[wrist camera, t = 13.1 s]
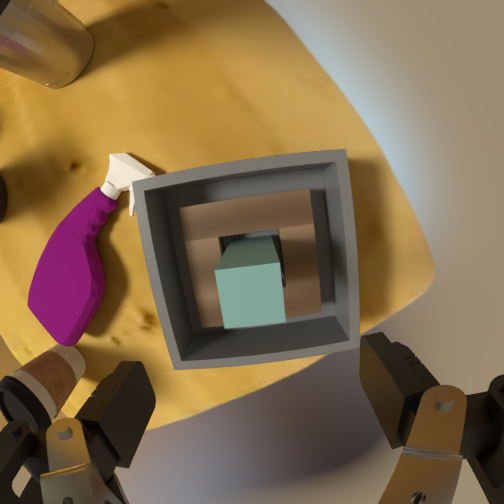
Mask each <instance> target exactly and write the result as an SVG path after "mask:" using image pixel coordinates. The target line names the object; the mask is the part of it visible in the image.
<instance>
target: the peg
mask: <svg viewBox="0 0 504 504" xmlns="http://www.w3.org/2000/svg"><path fill="white" fill-rule="evenodd" d="M215 276H216V282H217V288H218V294H219V299H220V305H221V311H222V316H223V322H224V327H225V329H227V328H238V327H248V326H257V325H266V324H274V323H282V322H286V318H285V307H284V297H283V288H282V278H281V269H280V262H279V258H278V255H277V252H276V249H275V246H274V243H273V240H272V237H271V235H265V236H257V237H249V238H241V239H233V240H231V241H230V243H229V245H228V247H227V249H226V250H225V252H224V254H223V256H222V258H221V259H220V261H219V263H218V265H217V267H216V269H215Z"/></svg>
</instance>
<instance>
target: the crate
mask: <svg viewBox="0 0 504 504" xmlns="http://www.w3.org/2000/svg"><path fill="white" fill-rule="evenodd" d="M132 187H133V194H134V200H135V207H136V213H137V219H138V225H139V230H140V236H141V241H142V246H143V251H144V256H145V261H146V266H147V270H148V275H149V279H150V284H151V288H152V292H153V296H154V300H155V304H156V308H157V312H158V316H159V319H160V323H161V327H162V330H163V334H164V337H165V341H166V344H167V348H168V351H169V354H170V358H171V361H172V364H173V367H174V370H186V369H205V368H220V367H232V366H243V365H252V364H261V363H270V362H278V361H285V360H292V359H299V358H305V357H311V356H317V355H323V354H328V353H334V352H339V351H344V350H349V349H353V348H358V347H359V345H360V303H359V273H358V255H357V240H356V228H355V217H354V207H353V198H352V190H351V182H350V175H349V167H348V161H347V154H346V149H337V150H324V151H313V152H303V153H293V154H284V155H276V156H268V157H260V158H253V159H246V160H239V161H233V162H227V163H221V164H215V165H209V166H203V167H198V168H193V169H188V170H182V171H178V172H173V173H168V174H163V175H159V176H154V177H150V178H145V179H141V180H137V181H133V182H132ZM303 189H309V190H310V197H311V205H312V213H313V222H314V230H315V240H316V249H317V259H318V270H319V282H320V295H321V309H322V313H316V314H310V315H304V316H297V317H290V318H286V322H282V323H274V324H266V325H257V326H248V327H238V328H227V329H225V327H224V326H217V327H207V328H202V325H201V321H200V316H199V312H198V307H197V303H196V298H195V293H194V288H193V283H192V279H191V274H190V268H189V263H188V258H187V253H186V247H185V242H184V236H183V230H182V225H181V219H180V212H179V208H182V207H187V206H193V205H198V204H204V203H210V202H217V201H223V200H229V199H236V198H243V197H249V196H256V195H264V194H271V193H278V192H286V191H294V190H303ZM265 235H271V237H272V240H273V243H274V246H275V249H276V252H277V255H278V258H279V262H280V269H281V278H284V276H283V268H282V260H281V252H280V244H279V237H278V229H271V230H264V231H256V232H249V233H242V234H235V235H228V236H223V243H224V249H225V250H226V249H227V247H228V245H229V243H230V241H231V240H233V239H241V238H249V237H257V236H265Z"/></svg>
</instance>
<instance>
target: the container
mask: <svg viewBox="0 0 504 504" xmlns="http://www.w3.org/2000/svg"><path fill="white" fill-rule="evenodd" d="M6 206H7V191H6V186H5V183H4V180H3V178H2V177H1V176H0V221H1V220H2V219H3V217H4V214H5V211H6Z"/></svg>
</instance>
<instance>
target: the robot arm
mask: <svg viewBox="0 0 504 504" xmlns="http://www.w3.org/2000/svg"><path fill="white" fill-rule="evenodd" d="M93 50H94V39H93V37H92V35H91V34H90V33H89V32H87V26H86V25H84V24H83V23H82V22H81V21H80V20H79V19H77V18H76V17H75V16H74V15H73V14H72V13H70V12H69V11H68V10H67V9H66V8H64V7H63V6H62V5H61V4H59V3H58V2H57V1H56V0H0V68H2V69H5V70H8V71H10V72H13V73H15V74H18V75H20V76H23V77H25V78H28V79H30V80H33V81H35V82H38V83H40V84H42V85H45V86H47V87H49V88H54V89H55V88H61V87H63V86H65V85H67V84H69V83H70V82H72V81H73V80H74V79H75V78H77V76H78V75H79V74H80V73H81V72H82V71H83V70H84V68H85V67H86V66H87V64H88V62H89V61H90V58H91V56H92V53H93ZM359 372H360V381H361V385H362V387H363V390H364V391H365V394H366V395H367V398H368V400H369V402H370V404H371V406H372V408H373V410H374V412H375V414H376V416H377V418H378V420H379V422H380V425H381V427H382V429H383V431H384V433H385V435H386V437H387V440H388V442H389V444H390V445H391V448H392V449H395V448H398V447H401V446H404V449H403V451H402V453H401V455H400V458H399V460H398V463H397V465H396V467H395V470H394V472H393V474H392V476H391V478H390V481H389V483H388V485H387V487H386V489H385V491H384V493H383V495H382V497H381V499H380V501H379V502H378V504H451V503H452V500H453V497H454V493H455V490H456V486H457V482H458V479H459V474H460V470H461V466H462V460H463V459H467V461H468V463H469V465H470V466H471V468H472V470H473V472H474V474H475V476H476V478H477V480H478V481H479V484H480V486H481V488H482V489H483V492H484V494H485V495H486V498H487V500H488V502H489V504H504V375H500V376H497V377H496V378H494V379H493V380H492V382H491V383H490V386H489V389H488V391H487V392H482V393H476V394H471V395H465V394H464V392H463V391H462V390H460V389H459V388H456V387H454V386H451V385H440V384H439V382H438V381H437V380H436V379H435V378H434V376H433V375H432V374H431V373H430V372H429V371H428V369H427V368H426V367H425V366H424V365H423V364H422V363H421V362H420V360H419V359H418V358H417V357H415V354H414V353H413V352H412V351H411V350H410V349H409V348H408V347H407V346H405V345H403V344H401V343H399V342H394V343H391V342H390V341H389V339H388V338H387V337H386V336H385V335H384V333H383V332H378V333H374V334H370V335H365V336H362V337H361V341H360V371H359ZM155 404H156V398H155V393H154V391H153V388H152V386H151V383H150V381H149V378H148V376H147V373H146V370H145V368H144V365H143V364H142V362H140V361H122V362H120V364H119V365H118V366H117V368H116V369H115V370H114V372H113V373H111V374H110V375H108V376H107V377H106V378H104V379H103V380H102V381H101V382H100V383H99V385H98V386H97V387H96V390H94V391H93V393H92V394H91V397H89V398H88V399H87V401H86V402H85V403H84V405H83V406H82V408H81V409H80V410H79V412H78V413H77V414H76V416H75V417H74V418H63V419H60V420H58V421H56V422H54V423H53V424H52V425H51V426H50V427H49V428H48V430H47V431H34V430H33V429H32V427H31V426H30V424H29V423H28V422H27V421H26V420H23V419H18V420H14V421H12V422H10V423H8V424H7V425H6V426H5V427H4V428H3V429H2V431H1V432H0V504H129V502H128V500H127V498H126V496H125V493H124V491H123V489H122V487H121V484H120V482H119V479H118V477H117V475H116V474H115V473H114V470H115V467H116V466H117V467H123V468H129V467H130V464H131V462H132V459H133V457H134V455H135V452H136V450H137V448H138V445H139V443H140V441H141V438H142V436H143V434H144V431H145V429H146V427H147V425H148V422H149V420H150V418H151V415H152V413H153V411H154V409H155ZM22 465H23V466H24V467H25V468H26V469H27V471H28V472H29V473H30V474H31V475H32V476H31V478H30V480H29V482H28V483H27V485H26V487H25V488H24V490H23V492H22V494H21V496H20V498H19V497H18V496H17V495H16V494H15V493H14V491H13V489H12V481H13V479H14V478H15V476H16V475H17V473H18V471H19V470H20V468H21V466H22Z"/></svg>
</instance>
